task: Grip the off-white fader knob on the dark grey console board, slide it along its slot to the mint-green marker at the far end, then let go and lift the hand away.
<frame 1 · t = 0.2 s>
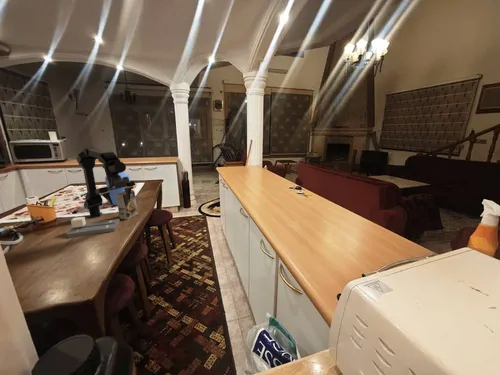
hand: (120, 202, 121), 15 cm above the table, tool pointing down, fingers open, 9 cm apart
fader knob: (78, 222, 120), point 5 cm above the table, slide at -7.0 cm
coffee box: (129, 216, 141), on the table
water jug: (121, 202, 168), on the table
console board: (95, 229, 124), on the table
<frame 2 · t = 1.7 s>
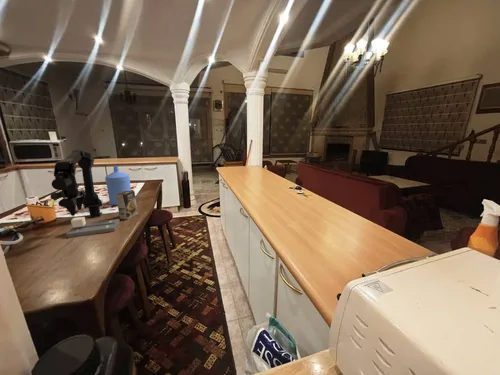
hand: (76, 212, 119), 11 cm above the table, tool pointing down, fingers open, 9 cm apart
nothing on the table moved.
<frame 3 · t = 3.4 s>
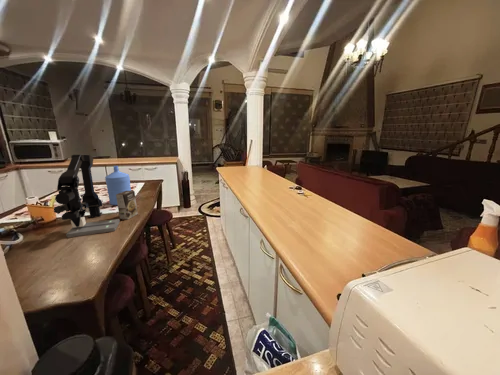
hand: (79, 225, 121), 4 cm above the table, tool pointing down, fingers closed on fader knob, 4 cm apart
fader knob: (78, 222, 120), point 5 cm above the table, slide at -7.0 cm, touching gripper
everything else where it was.
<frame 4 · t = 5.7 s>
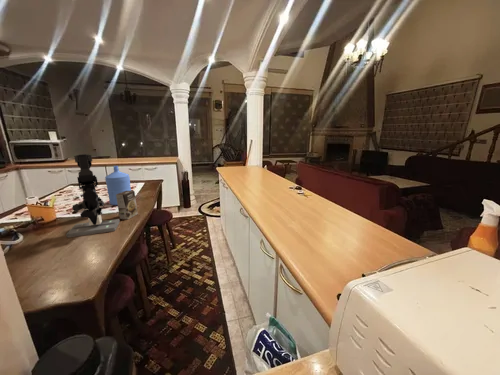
hand: (96, 222, 123), 4 cm above the table, tool pointing down, fingers closed on fader knob, 4 cm apart
fader knob: (95, 220, 123), point 5 cm above the table, slide at 0.9 cm, touching gripper
everything else where it was.
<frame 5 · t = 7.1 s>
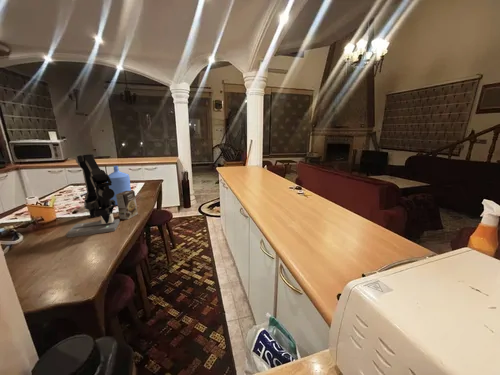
hand: (108, 221, 125), 4 cm above the table, tool pointing down, fingers closed on fader knob, 4 cm apart
fader knob: (107, 219, 125), point 5 cm above the table, slide at 6.8 cm, touching gripper
everything else where it was.
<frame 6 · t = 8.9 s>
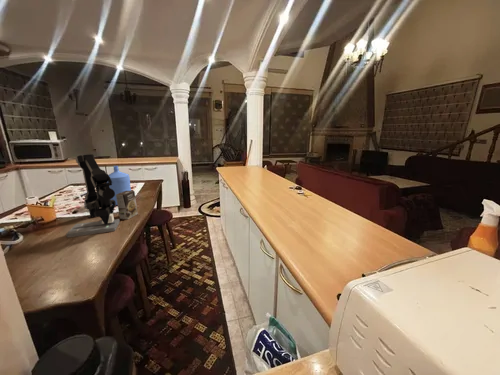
hand: (108, 221, 125), 4 cm above the table, tool pointing down, fingers open, 9 cm apart
fader knob: (107, 219, 125), point 5 cm above the table, slide at 7.0 cm
everything else where it was.
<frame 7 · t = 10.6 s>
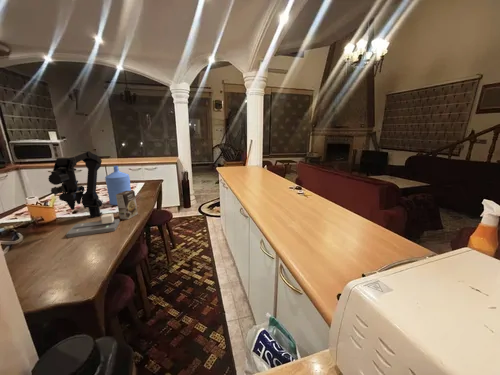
hand: (75, 206, 125), 12 cm above the table, tool pointing down, fingers open, 9 cm apart
nothing on the table moved.
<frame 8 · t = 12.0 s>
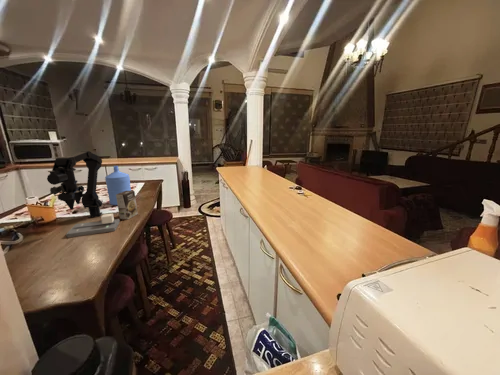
hand: (75, 206, 125), 12 cm above the table, tool pointing down, fingers open, 9 cm apart
nothing on the table moved.
at the end: fader knob slide at 7.0 cm; the gripper is holding nothing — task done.
